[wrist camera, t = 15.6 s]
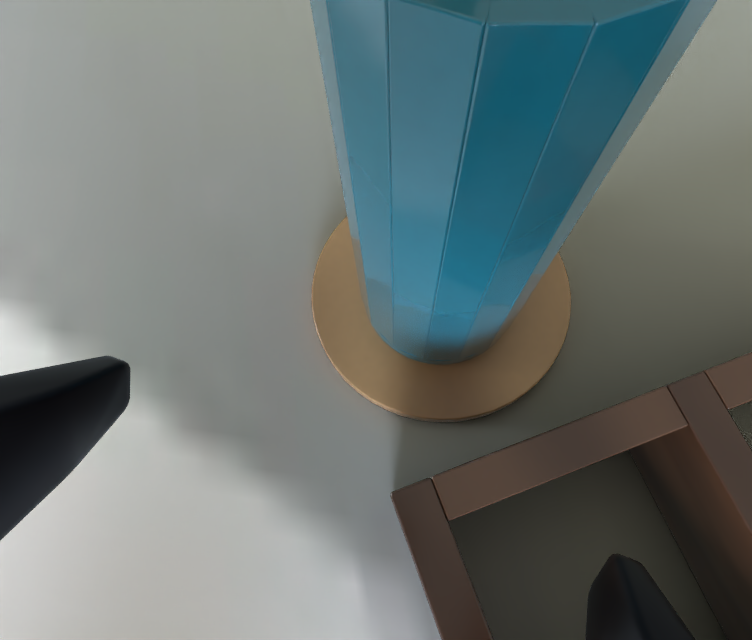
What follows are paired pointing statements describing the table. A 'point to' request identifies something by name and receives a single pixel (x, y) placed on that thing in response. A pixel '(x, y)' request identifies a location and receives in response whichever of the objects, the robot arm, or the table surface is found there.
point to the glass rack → (590, 445)
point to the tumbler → (480, 145)
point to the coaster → (432, 381)
